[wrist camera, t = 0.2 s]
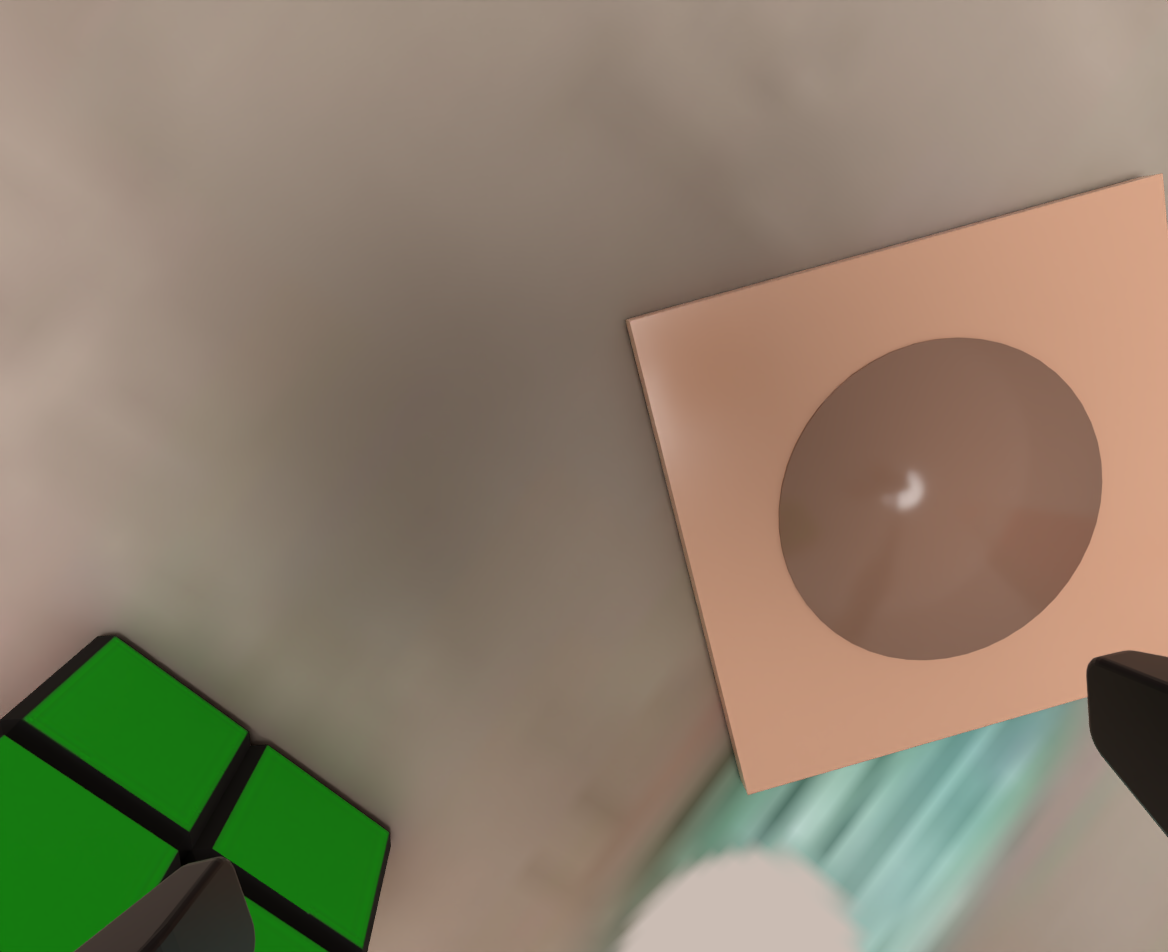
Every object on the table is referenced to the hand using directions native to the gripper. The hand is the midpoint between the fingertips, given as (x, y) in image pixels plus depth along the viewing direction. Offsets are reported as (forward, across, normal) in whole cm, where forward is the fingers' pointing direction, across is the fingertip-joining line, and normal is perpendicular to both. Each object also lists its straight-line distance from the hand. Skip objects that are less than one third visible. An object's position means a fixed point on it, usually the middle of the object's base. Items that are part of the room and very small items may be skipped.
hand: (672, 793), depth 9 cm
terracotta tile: (+14, -10, +3) cm, 18 cm away
